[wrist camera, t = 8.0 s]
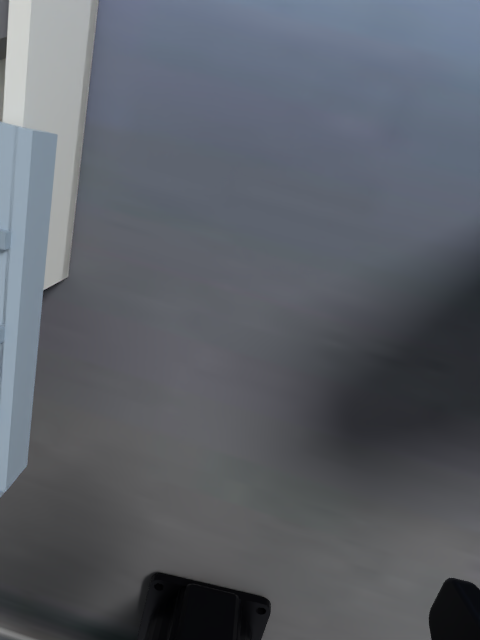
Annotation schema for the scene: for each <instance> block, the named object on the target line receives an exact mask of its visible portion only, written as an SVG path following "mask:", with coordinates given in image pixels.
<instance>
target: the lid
mask: <svg viewBox="0 0 480 640" xmlns="http://www.w3.org/2000/svg"><path fill="white" fill-rule="evenodd" d="M57 137H58V134H54V133H50V132H46V131H42V130H36V129H30V128H25V127H21V126H17V125H13V124H9V123H5V122H1V121H0V497H1V496H2V495H3V494H4V492H6V491H7V490H8V488H9V487H10V486H11V485H12V483H13V482H14V481H15V480H16V479H17V477H18V476H19V475H20V474H21V472H22V471H23V470H24V469H25V468H26V466H27V460H28V449H29V439H30V428H31V417H32V406H33V396H34V385H35V374H36V363H37V352H38V342H39V331H40V320H41V309H42V298H43V288H44V277H45V266H46V255H47V244H48V234H49V223H50V212H51V201H52V191H53V180H54V169H55V158H56V147H57Z"/></svg>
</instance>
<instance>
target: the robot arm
mask: <svg viewBox="0 0 480 640" xmlns="http://www.w3.org/2000/svg"><path fill="white" fill-rule="evenodd" d="M158 583H159V584H158ZM260 607H262V608H260ZM270 612H271V603H270V601H269V600H268V599H266V598H264V597H260V596H256V595H251V594H247V593H243V592H239V591H234V590H230V589H226V588H222V587H217V586H213V585H209V584H204V583H200V582H196V581H192V580H187V579H183V578H179V577H175V576H170V575H166V574H161V573H158V574H155V575H153V576H152V578H151V582H150V585H149V590H148V594H147V599H146V603H145V608H144V612H143V617H142V621H141V625H140V630H139V634H138V639H137V640H261V638H262V635H263V633H264V630H265V627H266V624H267V621H268V619H269V616H270ZM429 627H430V633H431V639H432V640H480V590H479V588H478V587H476V586H475V585H474V584H473V583H471V582H468V581H464V580H460V579H455V578H448V579H447V580H446V581H445V582H444V584H443V586H442V588H441V590H440V591H439V593H438V595H437V597H436V599H435V601H434V603H433V605H432V607H431V610H430V614H429Z"/></svg>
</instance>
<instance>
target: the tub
mask: <svg viewBox="0 0 480 640" xmlns="http://www.w3.org/2000/svg"><path fill="white" fill-rule="evenodd" d="M98 2H99V0H0V121H1V122H5V123H9V124H13V125H17V126H21V127H25V128H30V129H36V130H42V131H46V132H50V133H54V134H58V137H57V147H56V158H55V169H54V180H53V191H52V201H51V212H50V223H49V234H48V244H47V255H46V266H45V277H44V288H43V290H45V289H47V288H49V287H50V286H52V285H54V284H56V283H58V282H60V281H61V280H63V279H65V278H67V277H68V274H69V265H70V256H71V247H72V237H73V228H74V219H75V210H76V201H77V192H78V183H79V174H80V165H81V156H82V147H83V138H84V129H85V120H86V111H87V102H88V93H89V84H90V75H91V66H92V57H93V48H94V39H95V29H96V20H97V11H98Z"/></svg>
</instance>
